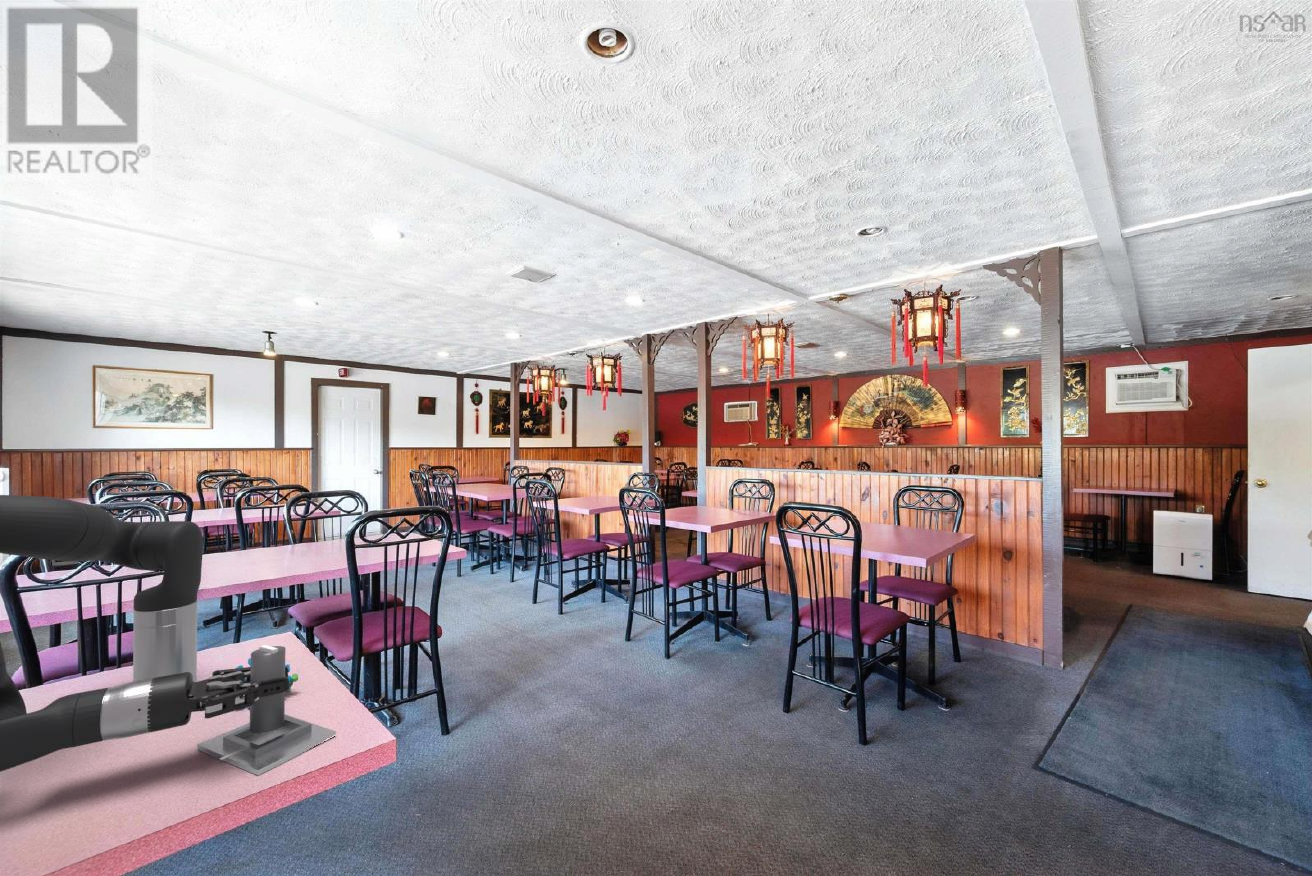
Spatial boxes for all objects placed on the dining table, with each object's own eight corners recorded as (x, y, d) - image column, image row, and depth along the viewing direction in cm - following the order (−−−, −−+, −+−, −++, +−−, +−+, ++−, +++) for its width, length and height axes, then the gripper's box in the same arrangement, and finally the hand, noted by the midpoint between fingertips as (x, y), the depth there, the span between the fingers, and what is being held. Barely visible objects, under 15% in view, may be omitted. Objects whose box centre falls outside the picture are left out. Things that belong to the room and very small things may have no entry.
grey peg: (243, 729, 89) (244, 649, 89) (273, 716, 93) (274, 640, 93) (260, 735, 87) (261, 654, 87) (290, 722, 91) (291, 645, 91)
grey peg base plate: (191, 752, 87) (191, 739, 87) (276, 715, 99) (276, 704, 99) (252, 778, 80) (252, 764, 80) (335, 736, 92) (335, 724, 92)
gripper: (140, 697, 76) (290, 669, 86) (157, 664, 88) (287, 642, 97) (139, 753, 76) (289, 718, 85) (156, 712, 87) (287, 685, 97)
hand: (287, 678), depth 91 cm, fingers closed on grey peg, 4 cm apart
